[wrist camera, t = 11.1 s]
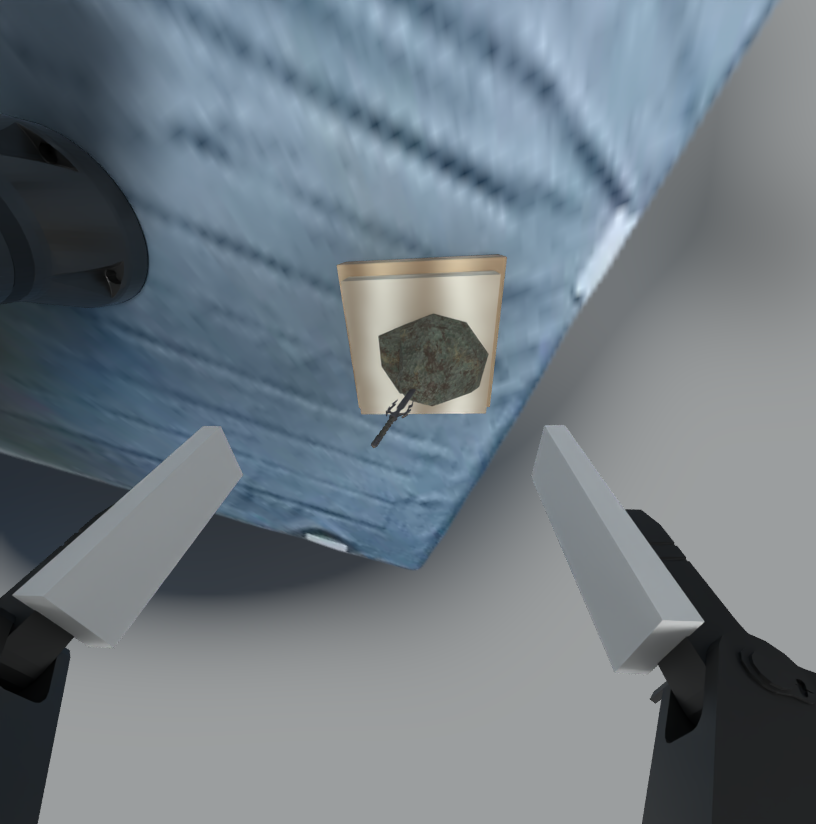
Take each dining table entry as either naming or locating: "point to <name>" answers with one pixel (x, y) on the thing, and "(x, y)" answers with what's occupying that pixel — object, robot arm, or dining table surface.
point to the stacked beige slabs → (411, 300)
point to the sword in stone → (430, 362)
